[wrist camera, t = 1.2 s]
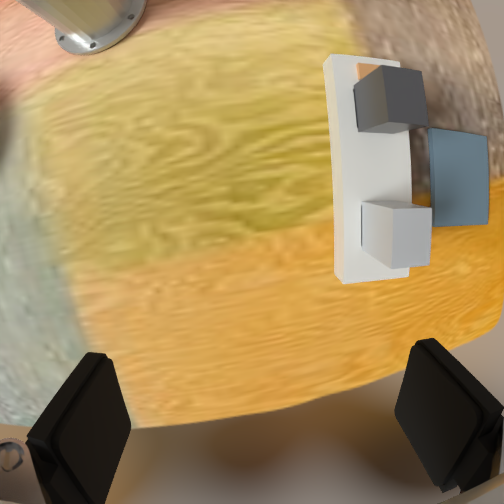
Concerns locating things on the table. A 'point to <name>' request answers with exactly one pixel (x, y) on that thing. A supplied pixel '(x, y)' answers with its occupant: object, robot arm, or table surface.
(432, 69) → the table surface
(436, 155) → the mat
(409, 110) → the block
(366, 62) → the power strip
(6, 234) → the table surface
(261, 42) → the table surface
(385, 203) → the block
